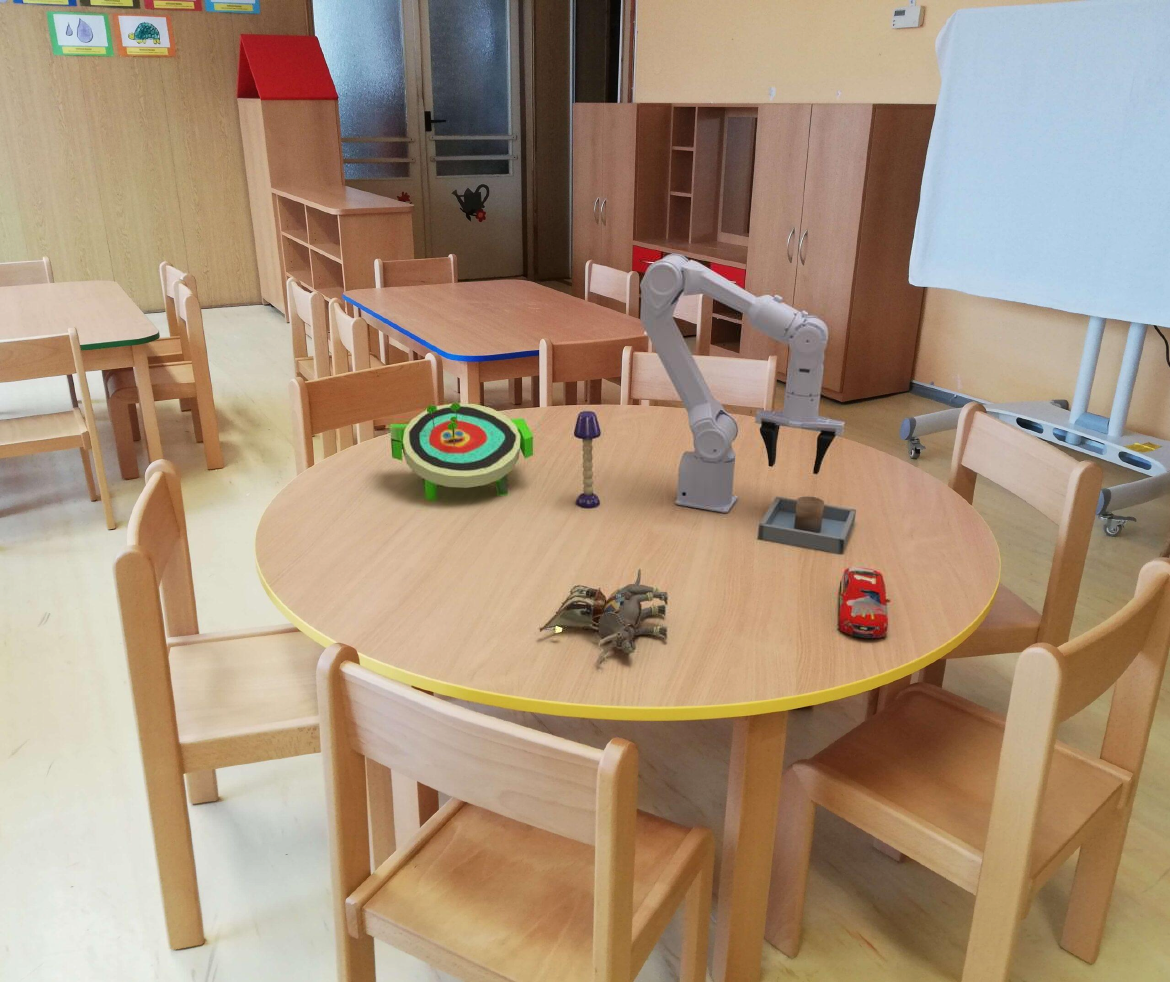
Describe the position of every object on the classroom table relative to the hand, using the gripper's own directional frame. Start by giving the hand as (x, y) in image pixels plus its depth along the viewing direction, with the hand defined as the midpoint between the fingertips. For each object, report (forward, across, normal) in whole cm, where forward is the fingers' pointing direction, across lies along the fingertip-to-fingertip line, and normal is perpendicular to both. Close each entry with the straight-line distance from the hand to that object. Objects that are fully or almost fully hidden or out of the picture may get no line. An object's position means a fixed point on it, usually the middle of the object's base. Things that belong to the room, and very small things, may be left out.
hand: (793, 468), depth 160 cm
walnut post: (+8, +4, -6) cm, 11 cm away
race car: (+9, +17, -31) cm, 36 cm away
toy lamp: (+9, -33, -12) cm, 37 cm away
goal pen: (+8, +4, -6) cm, 11 cm away
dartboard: (+9, -56, -15) cm, 59 cm away
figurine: (+9, -13, -51) cm, 54 cm away
